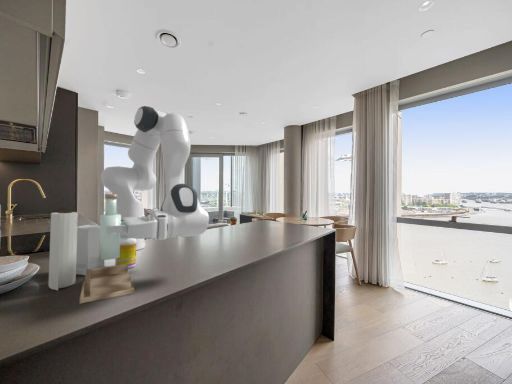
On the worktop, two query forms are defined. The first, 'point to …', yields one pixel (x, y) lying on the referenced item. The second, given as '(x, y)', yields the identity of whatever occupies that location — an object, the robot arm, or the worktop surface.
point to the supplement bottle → (127, 251)
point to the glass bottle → (109, 241)
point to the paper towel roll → (63, 249)
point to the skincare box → (88, 249)
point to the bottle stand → (106, 283)
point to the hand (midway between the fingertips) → (106, 227)
